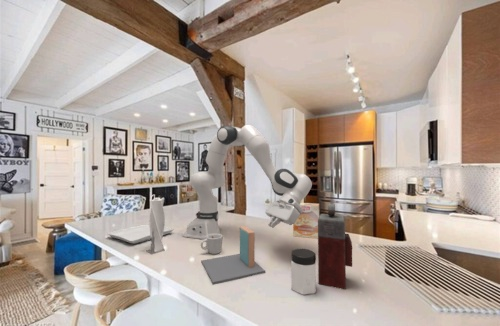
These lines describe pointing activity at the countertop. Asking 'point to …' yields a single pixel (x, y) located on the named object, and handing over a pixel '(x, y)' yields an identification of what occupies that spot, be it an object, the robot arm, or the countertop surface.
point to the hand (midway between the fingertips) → (270, 226)
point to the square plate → (136, 233)
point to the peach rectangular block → (247, 246)
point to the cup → (213, 243)
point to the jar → (303, 271)
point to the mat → (229, 268)
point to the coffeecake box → (307, 221)
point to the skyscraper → (156, 225)
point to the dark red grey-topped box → (333, 249)
